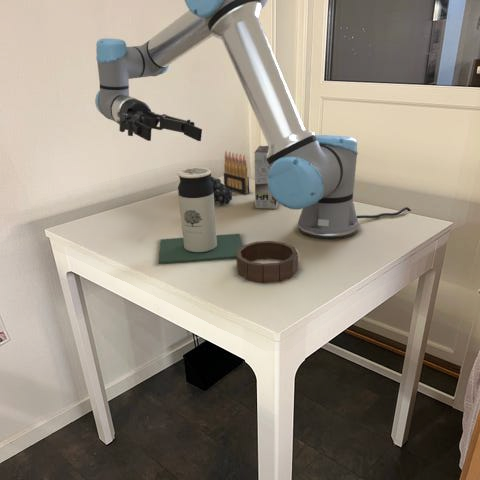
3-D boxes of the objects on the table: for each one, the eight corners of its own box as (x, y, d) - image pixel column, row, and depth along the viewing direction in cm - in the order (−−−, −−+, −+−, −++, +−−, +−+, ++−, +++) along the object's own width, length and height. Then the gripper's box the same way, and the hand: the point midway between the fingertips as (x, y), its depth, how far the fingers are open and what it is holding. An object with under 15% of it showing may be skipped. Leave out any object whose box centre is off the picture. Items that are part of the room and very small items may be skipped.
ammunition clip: (224, 188, 161) (221, 151, 155) (228, 187, 162) (226, 150, 156) (245, 194, 154) (244, 155, 148) (249, 193, 155) (248, 154, 149)
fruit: (235, 174, 140) (203, 165, 149) (215, 190, 137) (183, 179, 146) (243, 200, 146) (211, 189, 155) (224, 215, 143) (192, 203, 152)
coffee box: (276, 209, 140) (276, 152, 132) (254, 208, 141) (253, 151, 133) (280, 199, 148) (280, 144, 139) (259, 199, 149) (259, 144, 141)
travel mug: (196, 238, 121) (190, 165, 112) (223, 243, 118) (218, 169, 108) (177, 249, 115) (169, 174, 106) (205, 255, 112) (198, 177, 103)
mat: (239, 235, 123) (239, 233, 123) (245, 257, 112) (245, 255, 111) (161, 241, 122) (160, 239, 122) (158, 264, 110) (158, 261, 110)
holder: (290, 255, 112) (290, 239, 110) (302, 279, 101) (302, 262, 99) (234, 259, 111) (234, 243, 109) (240, 284, 100) (239, 267, 98)
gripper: (172, 130, 133) (217, 151, 120) (85, 128, 119) (125, 152, 105) (175, 101, 130) (221, 119, 116) (85, 95, 115) (126, 115, 102)
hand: (175, 134), depth 111 cm, fingers open, 13 cm apart
